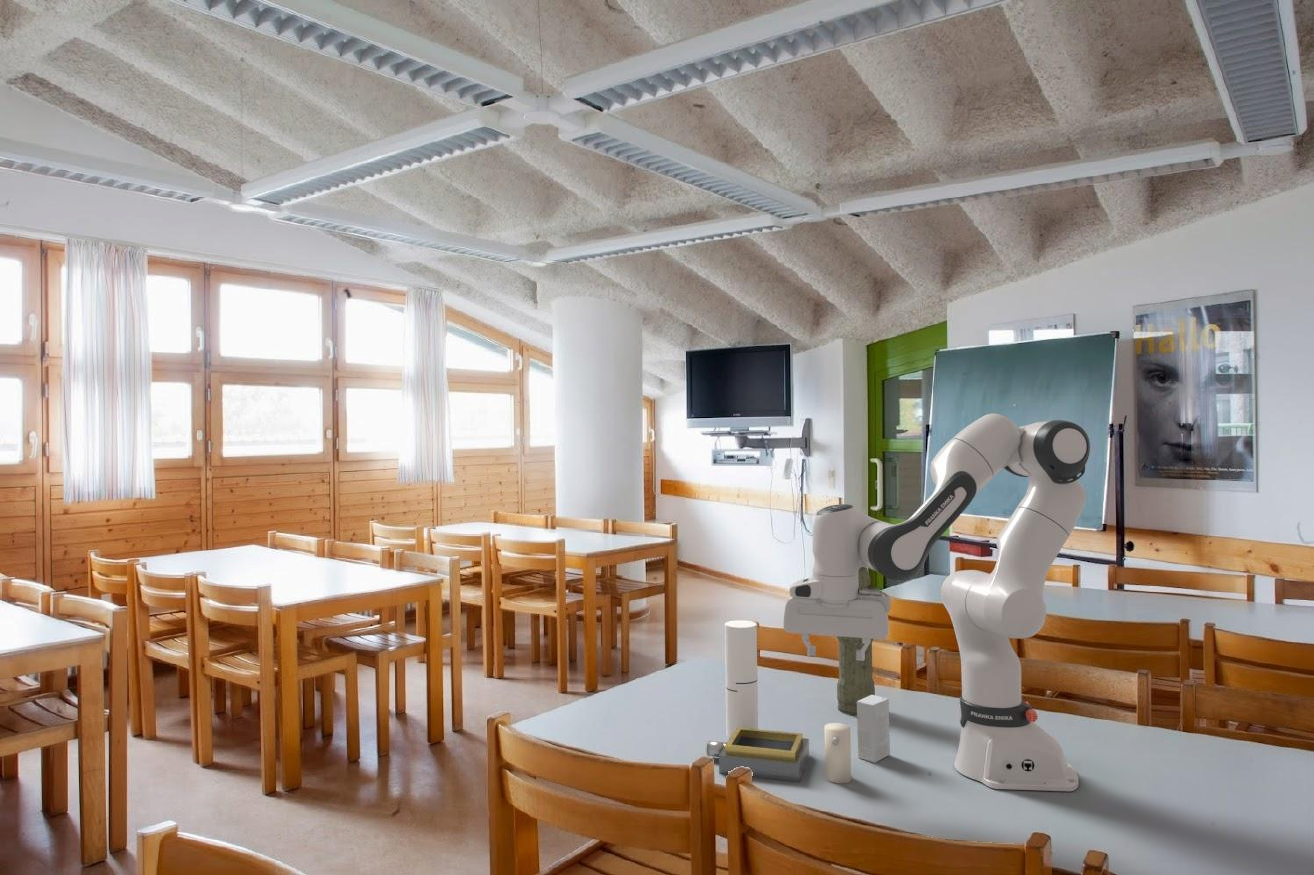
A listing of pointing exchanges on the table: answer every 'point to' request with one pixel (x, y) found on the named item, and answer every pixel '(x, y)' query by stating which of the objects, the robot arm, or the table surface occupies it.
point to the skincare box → (873, 728)
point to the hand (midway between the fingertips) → (835, 658)
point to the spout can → (837, 752)
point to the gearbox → (763, 753)
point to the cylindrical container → (741, 675)
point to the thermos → (854, 664)
